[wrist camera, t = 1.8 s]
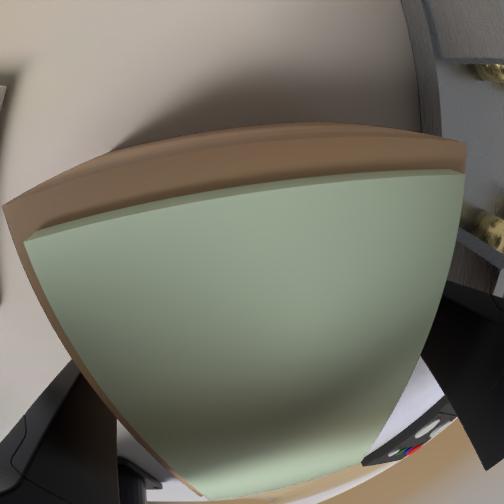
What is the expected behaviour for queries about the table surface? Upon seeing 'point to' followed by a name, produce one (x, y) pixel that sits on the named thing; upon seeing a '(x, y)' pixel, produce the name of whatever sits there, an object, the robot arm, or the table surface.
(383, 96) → the table surface
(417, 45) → the chassis
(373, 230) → the brown and green block
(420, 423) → the remote control
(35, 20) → the table surface
